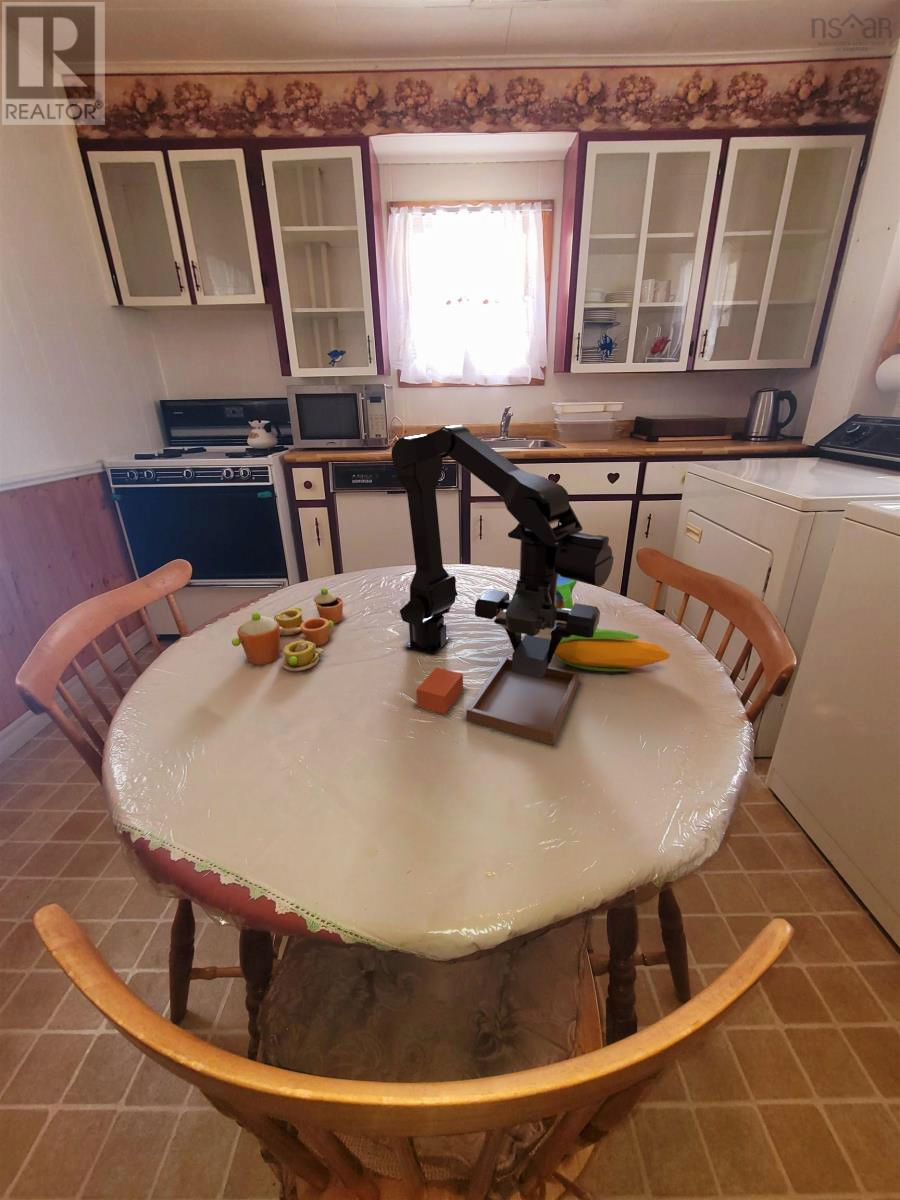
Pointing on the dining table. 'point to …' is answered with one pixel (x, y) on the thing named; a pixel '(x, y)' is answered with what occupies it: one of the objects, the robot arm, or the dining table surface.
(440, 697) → the orange red rectangular block
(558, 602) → the snack cup
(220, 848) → the dining table surface
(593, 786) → the dining table surface
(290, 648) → the toy tea set
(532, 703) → the tray
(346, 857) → the dining table surface
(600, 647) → the corn
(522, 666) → the dark grey rectangular block
